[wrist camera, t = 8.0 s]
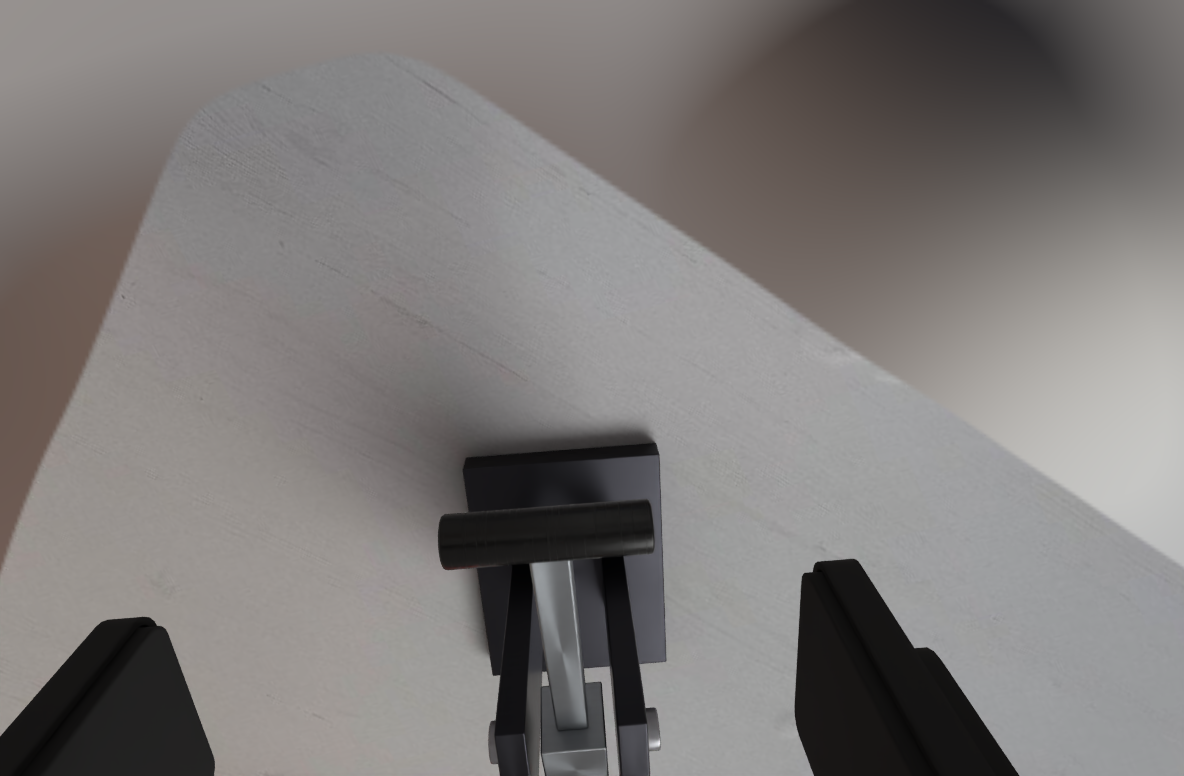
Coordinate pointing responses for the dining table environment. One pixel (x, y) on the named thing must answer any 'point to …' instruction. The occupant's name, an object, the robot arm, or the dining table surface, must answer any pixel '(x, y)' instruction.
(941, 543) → the dining table surface
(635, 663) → the bracket
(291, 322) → the dining table surface
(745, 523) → the dining table surface
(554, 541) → the lever
